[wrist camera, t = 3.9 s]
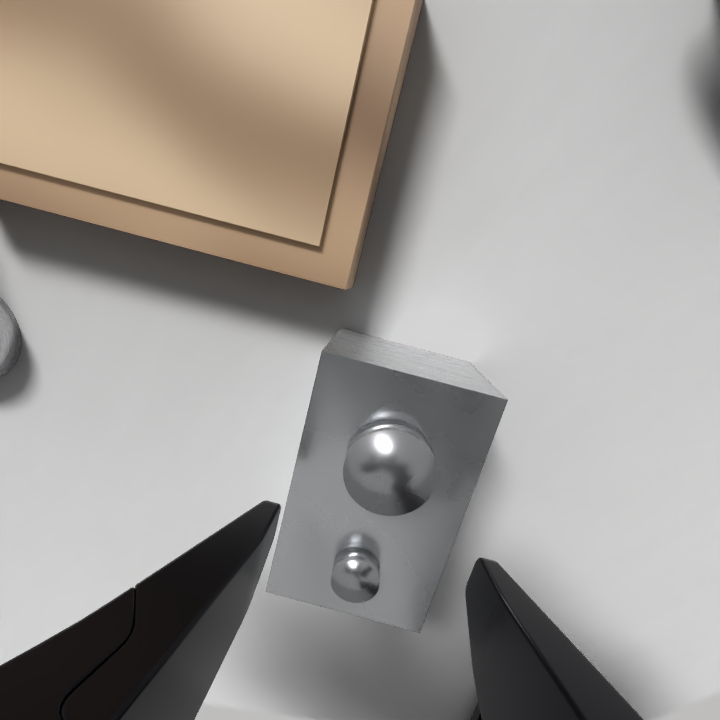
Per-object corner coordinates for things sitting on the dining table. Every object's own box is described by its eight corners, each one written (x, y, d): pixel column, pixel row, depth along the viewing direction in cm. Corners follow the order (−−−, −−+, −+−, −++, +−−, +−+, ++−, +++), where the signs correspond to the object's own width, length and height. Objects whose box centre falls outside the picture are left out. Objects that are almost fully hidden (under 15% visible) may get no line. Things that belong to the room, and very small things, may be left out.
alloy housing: (409, 533, 15) (422, 659, 10) (298, 504, 15) (256, 615, 10) (468, 361, 13) (519, 411, 8) (341, 327, 13) (315, 357, 8)
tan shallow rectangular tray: (352, 287, 13) (344, 290, 10) (-17, 190, 13) (-119, 168, 10) (424, -6, 11) (437, -97, 8) (-19, -120, 11) (-148, -247, 8)
